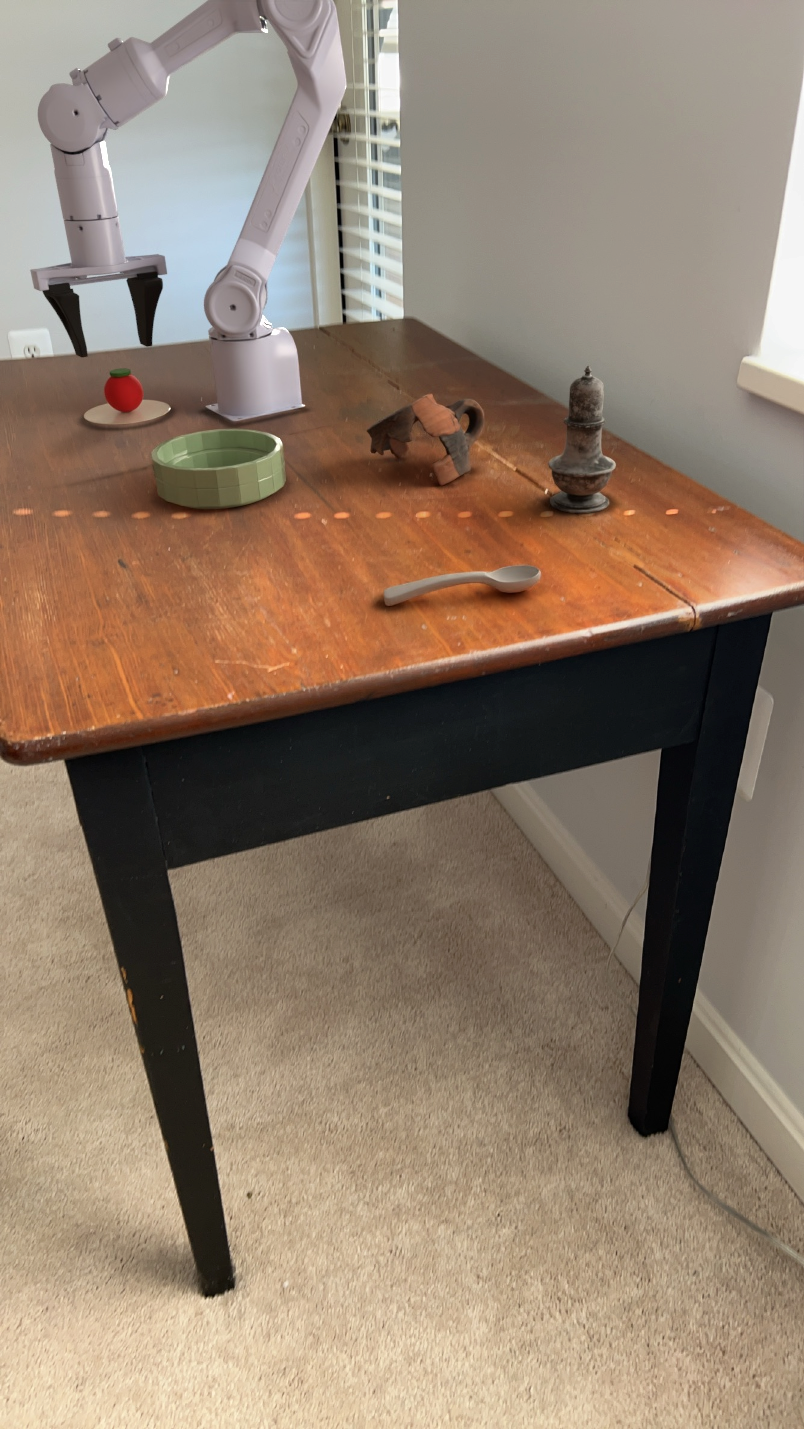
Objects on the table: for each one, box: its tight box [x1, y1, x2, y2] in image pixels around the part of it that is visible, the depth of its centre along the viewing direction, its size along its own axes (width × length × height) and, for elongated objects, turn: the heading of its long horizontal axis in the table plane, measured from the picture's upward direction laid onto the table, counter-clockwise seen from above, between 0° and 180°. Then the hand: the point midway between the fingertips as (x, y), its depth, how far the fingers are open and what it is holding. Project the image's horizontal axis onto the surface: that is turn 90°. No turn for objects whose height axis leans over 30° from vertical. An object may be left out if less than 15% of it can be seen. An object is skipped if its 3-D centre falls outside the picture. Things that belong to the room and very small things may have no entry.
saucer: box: [83, 399, 171, 425], centre depth 119 cm, size 10×10×1 cm
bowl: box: [150, 428, 287, 510], centre depth 96 cm, size 12×12×4 cm
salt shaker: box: [547, 365, 617, 514], centre depth 88 cm, size 6×6×12 cm
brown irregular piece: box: [366, 393, 485, 486], centre depth 99 cm, size 12×10×8 cm
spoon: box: [382, 564, 542, 607], centre depth 76 cm, size 3×12×2 cm, turn 99°
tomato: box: [103, 367, 144, 412], centre depth 118 cm, size 4×4×5 cm
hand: (114, 350), depth 115 cm, fingers open, 7 cm apart
